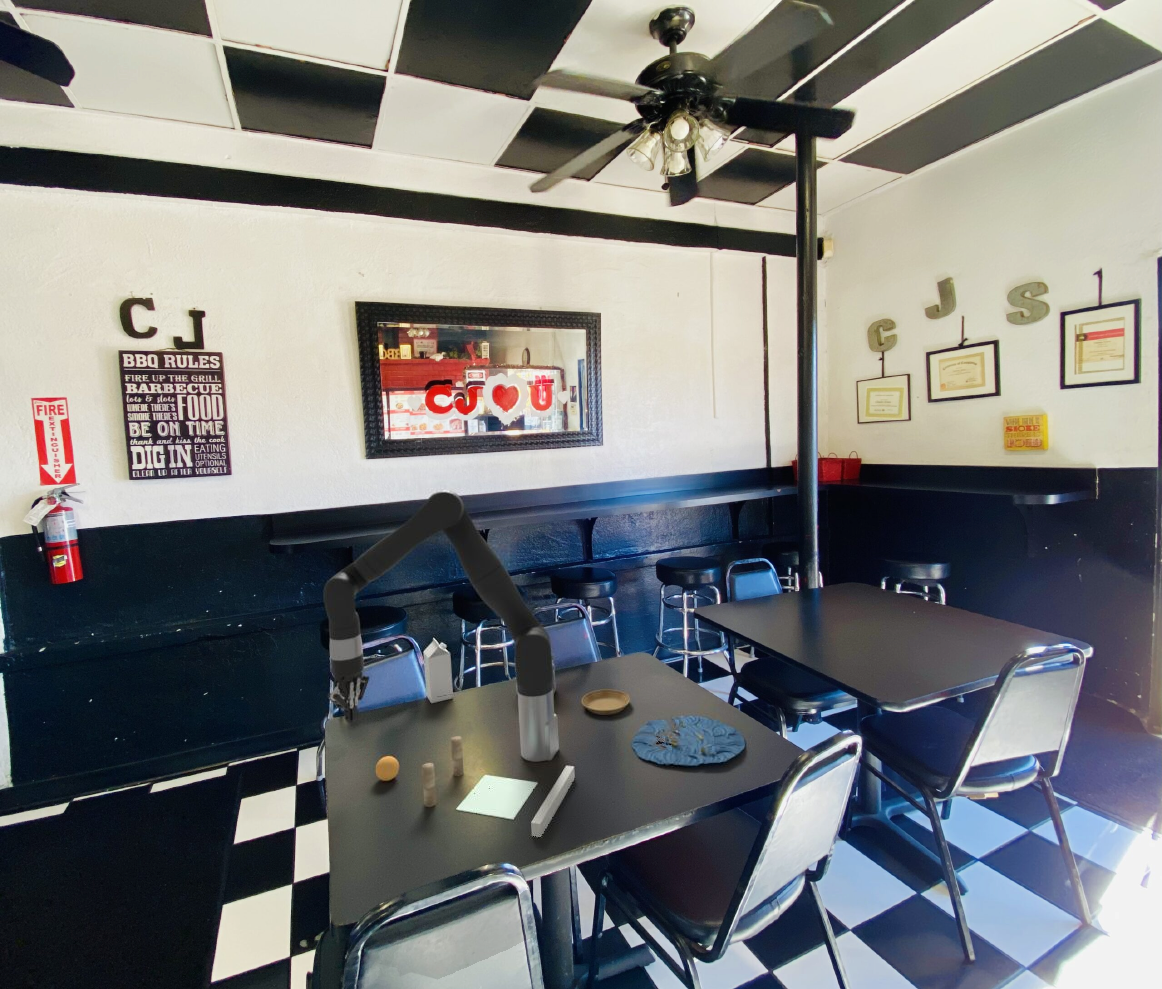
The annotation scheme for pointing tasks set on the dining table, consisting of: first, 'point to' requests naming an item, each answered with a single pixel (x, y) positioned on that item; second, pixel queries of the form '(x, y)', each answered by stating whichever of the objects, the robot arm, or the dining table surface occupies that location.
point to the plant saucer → (605, 701)
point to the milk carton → (438, 672)
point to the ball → (387, 768)
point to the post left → (429, 784)
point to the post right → (457, 756)
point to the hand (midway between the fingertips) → (351, 720)
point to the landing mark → (497, 797)
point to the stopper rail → (552, 802)
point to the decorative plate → (689, 742)
